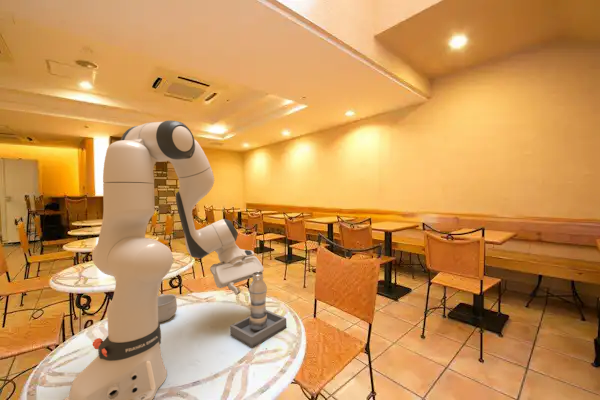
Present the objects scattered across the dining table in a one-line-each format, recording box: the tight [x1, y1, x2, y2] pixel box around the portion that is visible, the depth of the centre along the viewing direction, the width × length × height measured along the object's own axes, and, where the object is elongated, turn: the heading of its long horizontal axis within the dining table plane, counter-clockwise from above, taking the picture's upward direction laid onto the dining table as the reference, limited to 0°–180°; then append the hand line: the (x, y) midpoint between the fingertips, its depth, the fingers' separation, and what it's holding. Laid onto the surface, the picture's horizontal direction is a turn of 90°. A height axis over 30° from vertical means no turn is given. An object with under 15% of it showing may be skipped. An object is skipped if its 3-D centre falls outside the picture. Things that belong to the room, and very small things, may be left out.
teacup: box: [158, 293, 178, 323], centre depth 104 cm, size 14×11×8 cm
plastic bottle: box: [248, 272, 268, 331], centre depth 91 cm, size 6×7×20 cm
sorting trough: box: [229, 309, 287, 349], centre depth 92 cm, size 16×12×4 cm
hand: (248, 289), depth 95 cm, fingers open, 8 cm apart
